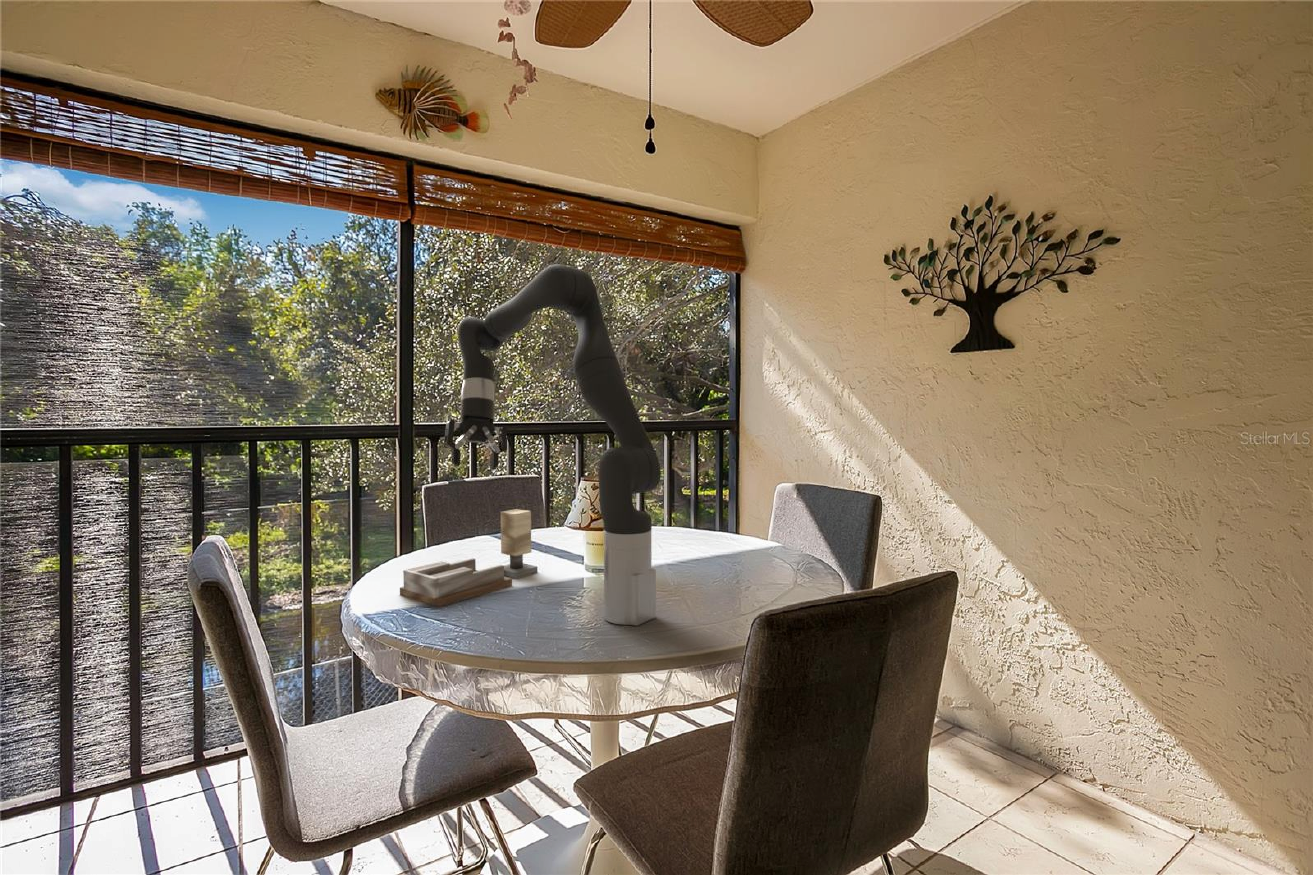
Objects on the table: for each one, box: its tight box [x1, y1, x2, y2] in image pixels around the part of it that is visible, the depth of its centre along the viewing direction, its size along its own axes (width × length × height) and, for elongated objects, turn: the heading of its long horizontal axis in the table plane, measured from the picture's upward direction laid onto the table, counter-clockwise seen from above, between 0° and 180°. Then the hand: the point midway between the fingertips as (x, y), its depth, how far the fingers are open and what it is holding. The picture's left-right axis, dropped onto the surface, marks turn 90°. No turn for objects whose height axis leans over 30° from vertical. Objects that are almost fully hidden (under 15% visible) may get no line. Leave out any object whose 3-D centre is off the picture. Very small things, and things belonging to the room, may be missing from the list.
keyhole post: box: [500, 508, 538, 580], centre depth 159 cm, size 7×7×15 cm
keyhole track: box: [399, 557, 513, 608], centre depth 146 cm, size 14×19×6 cm
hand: (475, 468), depth 153 cm, fingers open, 8 cm apart
